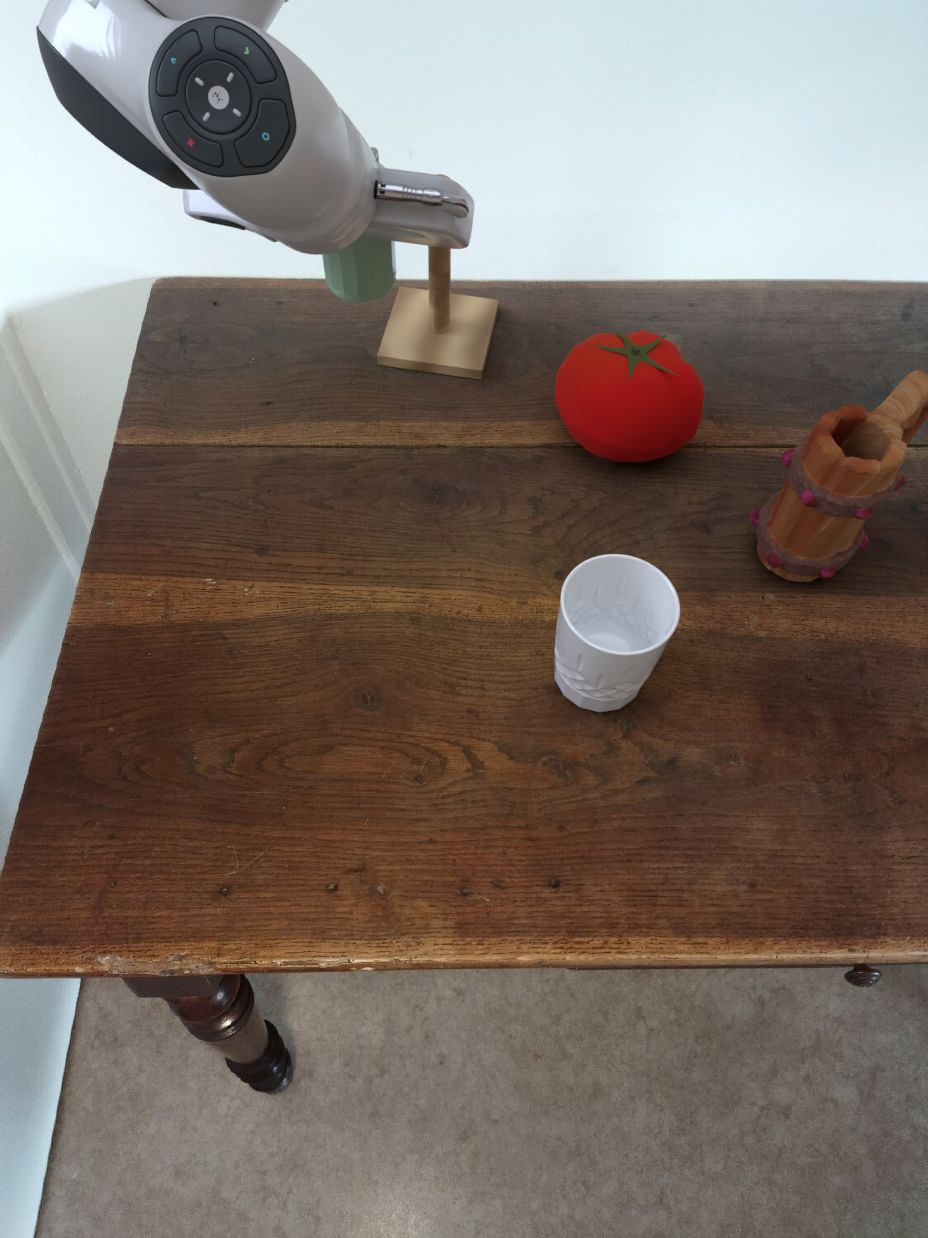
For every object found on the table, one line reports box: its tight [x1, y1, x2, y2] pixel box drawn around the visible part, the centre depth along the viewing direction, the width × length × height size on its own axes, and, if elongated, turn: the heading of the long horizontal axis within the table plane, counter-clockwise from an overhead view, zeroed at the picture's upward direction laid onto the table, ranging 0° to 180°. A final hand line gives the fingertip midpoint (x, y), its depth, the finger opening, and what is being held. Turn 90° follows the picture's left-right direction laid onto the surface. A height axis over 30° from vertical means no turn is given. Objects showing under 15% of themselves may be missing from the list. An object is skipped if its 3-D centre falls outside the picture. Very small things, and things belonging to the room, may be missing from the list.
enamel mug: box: [321, 146, 397, 303], centre depth 73 cm, size 10×6×9 cm, turn 170°
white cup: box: [553, 553, 681, 713], centre depth 63 cm, size 8×8×10 cm
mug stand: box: [376, 173, 500, 380], centre depth 79 cm, size 15×10×16 cm, turn 80°
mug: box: [748, 369, 928, 583], centre depth 67 cm, size 15×8×15 cm, turn 131°
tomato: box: [554, 327, 705, 463], centre depth 75 cm, size 11×13×10 cm
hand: (357, 222), depth 72 cm, fingers closed on enamel mug, 6 cm apart
